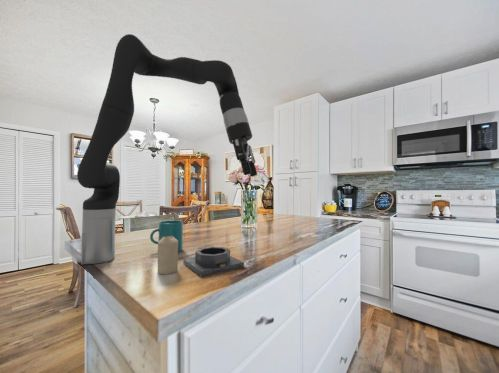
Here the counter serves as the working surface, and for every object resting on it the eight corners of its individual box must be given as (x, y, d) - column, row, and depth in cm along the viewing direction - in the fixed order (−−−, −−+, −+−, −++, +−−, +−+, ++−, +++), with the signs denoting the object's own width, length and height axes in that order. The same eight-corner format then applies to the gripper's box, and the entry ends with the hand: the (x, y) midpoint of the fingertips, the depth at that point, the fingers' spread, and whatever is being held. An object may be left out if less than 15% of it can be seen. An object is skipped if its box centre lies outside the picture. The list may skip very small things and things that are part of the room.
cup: (150, 249, 88) (150, 221, 88) (181, 246, 92) (181, 220, 93) (149, 255, 79) (149, 224, 80) (183, 252, 84) (184, 222, 84)
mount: (201, 277, 59) (201, 260, 59) (183, 263, 71) (183, 249, 71) (243, 267, 67) (243, 252, 68) (221, 256, 79) (221, 243, 79)
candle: (171, 275, 61) (171, 238, 61) (153, 273, 62) (154, 238, 62) (181, 268, 66) (181, 235, 66) (164, 267, 67) (165, 234, 67)
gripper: (233, 135, 77) (245, 179, 76) (218, 124, 63) (233, 177, 62) (253, 128, 76) (266, 173, 75) (242, 115, 62) (258, 169, 61)
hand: (251, 175), depth 68 cm, fingers open, 8 cm apart
